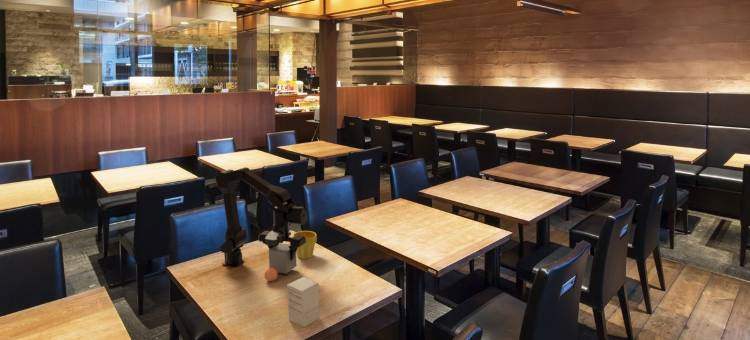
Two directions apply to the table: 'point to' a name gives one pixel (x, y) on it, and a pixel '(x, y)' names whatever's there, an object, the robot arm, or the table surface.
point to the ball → (270, 274)
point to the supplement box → (303, 301)
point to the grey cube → (281, 258)
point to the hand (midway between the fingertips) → (282, 258)
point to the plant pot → (306, 244)
